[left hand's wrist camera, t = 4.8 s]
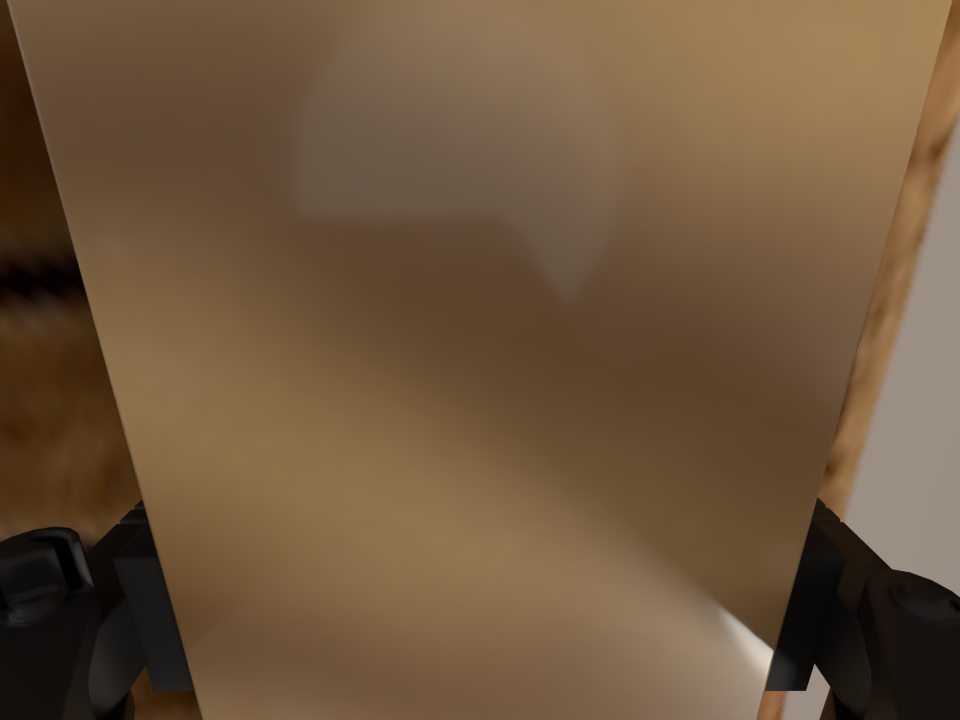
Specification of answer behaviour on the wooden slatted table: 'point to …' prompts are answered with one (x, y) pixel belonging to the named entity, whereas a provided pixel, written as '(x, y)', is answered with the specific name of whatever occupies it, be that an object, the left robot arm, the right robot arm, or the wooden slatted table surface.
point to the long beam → (479, 328)
